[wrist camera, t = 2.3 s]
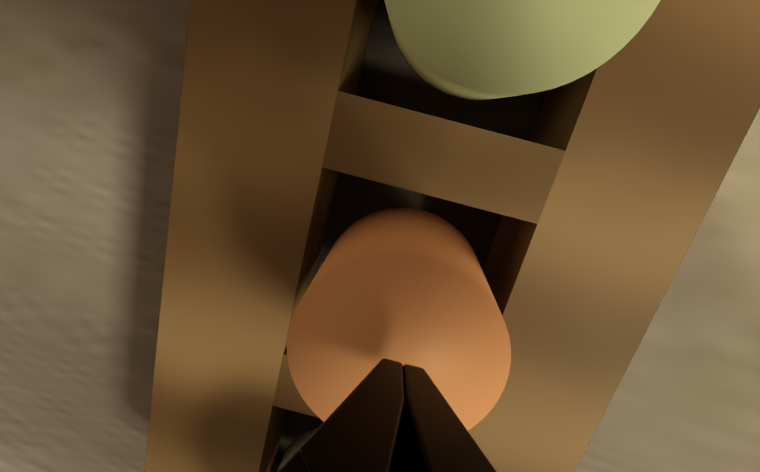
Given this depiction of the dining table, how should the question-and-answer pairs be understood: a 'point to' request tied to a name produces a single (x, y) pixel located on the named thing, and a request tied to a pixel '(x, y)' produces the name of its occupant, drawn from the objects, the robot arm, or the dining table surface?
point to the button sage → (511, 41)
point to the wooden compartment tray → (442, 180)
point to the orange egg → (400, 315)
